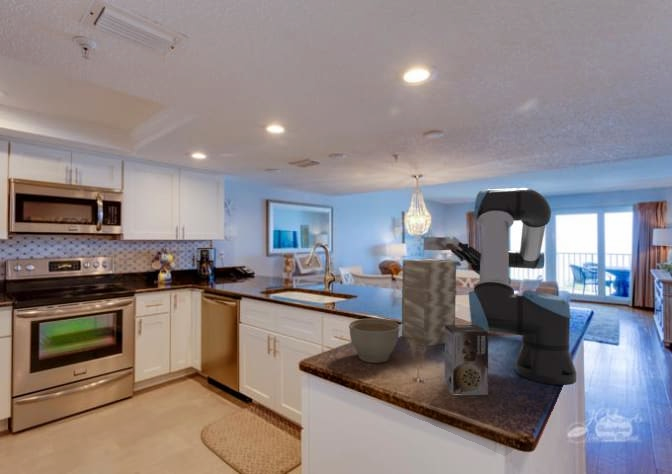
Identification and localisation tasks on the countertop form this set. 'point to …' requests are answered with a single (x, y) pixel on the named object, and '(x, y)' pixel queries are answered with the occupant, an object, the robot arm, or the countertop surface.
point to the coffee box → (466, 359)
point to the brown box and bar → (438, 244)
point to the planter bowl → (374, 338)
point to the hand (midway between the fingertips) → (449, 239)
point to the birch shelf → (428, 299)
